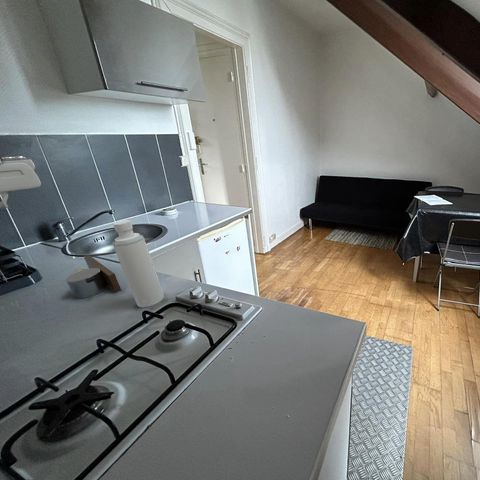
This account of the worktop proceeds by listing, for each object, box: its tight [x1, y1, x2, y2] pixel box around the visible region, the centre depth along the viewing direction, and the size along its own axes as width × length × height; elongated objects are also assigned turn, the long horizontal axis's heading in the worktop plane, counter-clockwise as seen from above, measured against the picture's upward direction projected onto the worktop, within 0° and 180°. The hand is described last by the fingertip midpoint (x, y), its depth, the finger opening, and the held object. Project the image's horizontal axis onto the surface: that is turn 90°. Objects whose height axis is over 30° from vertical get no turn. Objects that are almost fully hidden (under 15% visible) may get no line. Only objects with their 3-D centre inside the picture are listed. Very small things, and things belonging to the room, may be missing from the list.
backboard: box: [83, 254, 122, 293], centre depth 85 cm, size 2×26×6 cm, turn 53°
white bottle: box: [112, 219, 165, 308], centre depth 69 cm, size 7×7×25 cm
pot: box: [65, 268, 108, 300], centre depth 79 cm, size 8×10×6 cm
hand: (1, 208), depth 75 cm, fingers closed
